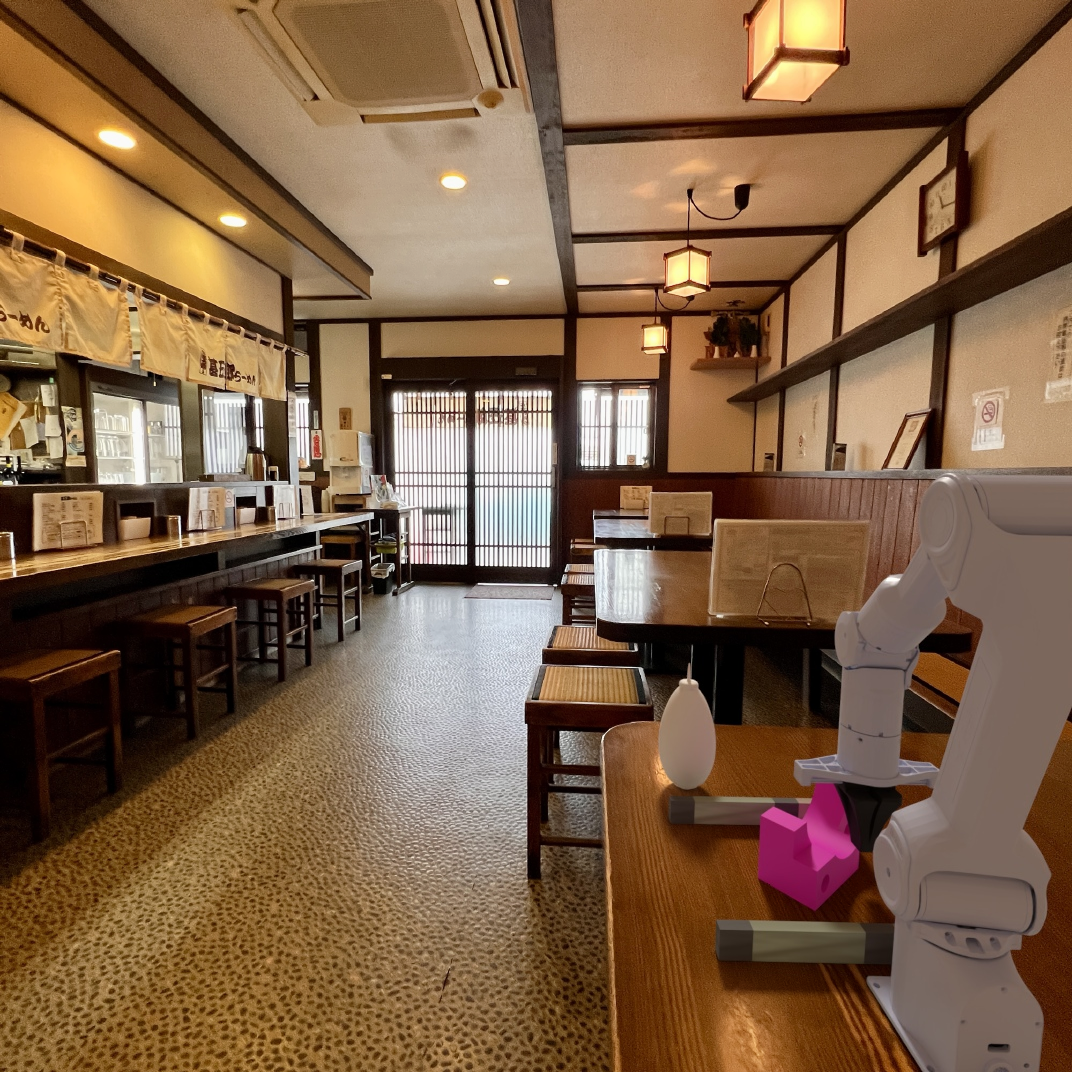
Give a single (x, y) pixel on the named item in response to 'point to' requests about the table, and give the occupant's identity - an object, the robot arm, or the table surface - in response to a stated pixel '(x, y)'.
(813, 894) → the toy block
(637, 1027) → the table surface
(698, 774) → the sauce bottle
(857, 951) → the trap lane
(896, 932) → the robot arm
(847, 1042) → the table surface
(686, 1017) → the table surface
